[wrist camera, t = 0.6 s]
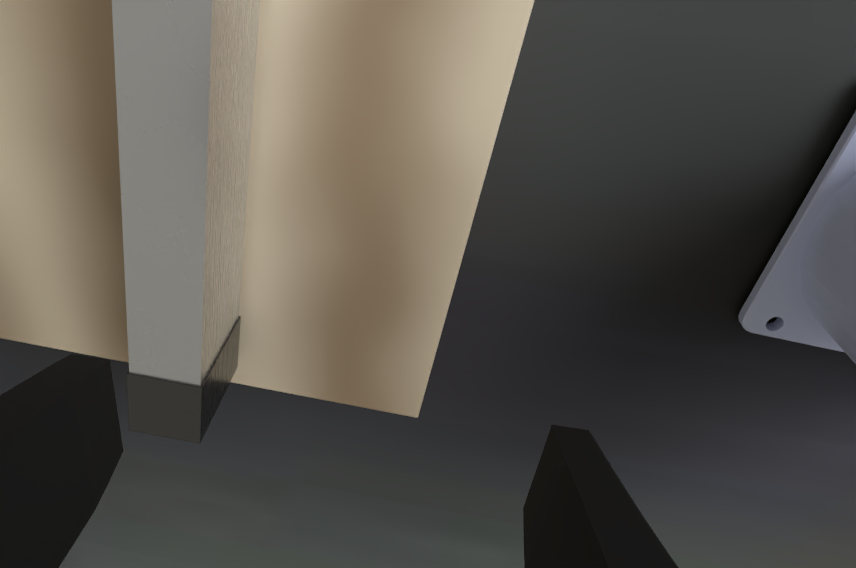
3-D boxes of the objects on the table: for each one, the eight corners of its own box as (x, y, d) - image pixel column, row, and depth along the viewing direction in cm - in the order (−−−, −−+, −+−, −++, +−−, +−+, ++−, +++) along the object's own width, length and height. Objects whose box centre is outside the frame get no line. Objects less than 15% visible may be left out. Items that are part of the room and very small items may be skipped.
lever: (152, -632, 9) (-88, -1064, 5) (332, -577, 10) (236, -952, 6) (163, 352, 19) (82, 472, 15) (251, 369, 20) (195, 491, 15)
